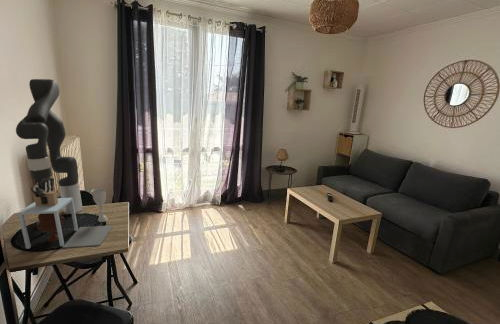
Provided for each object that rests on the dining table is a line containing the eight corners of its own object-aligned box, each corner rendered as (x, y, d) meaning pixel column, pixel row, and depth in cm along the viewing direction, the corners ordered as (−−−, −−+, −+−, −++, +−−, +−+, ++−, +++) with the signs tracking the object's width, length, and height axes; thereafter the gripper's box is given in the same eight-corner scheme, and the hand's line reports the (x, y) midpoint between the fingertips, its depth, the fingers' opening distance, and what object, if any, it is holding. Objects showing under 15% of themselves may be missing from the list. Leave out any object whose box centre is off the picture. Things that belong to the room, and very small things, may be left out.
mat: (80, 228, 133) (80, 227, 133) (113, 226, 136) (113, 225, 136) (62, 248, 116) (62, 247, 116) (100, 245, 119) (100, 244, 118)
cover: (45, 231, 129) (36, 187, 122) (78, 229, 131) (71, 186, 125) (26, 248, 114) (14, 200, 108) (63, 246, 117) (54, 198, 111)
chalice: (92, 221, 140) (87, 191, 135) (102, 216, 146) (98, 187, 141) (102, 223, 138) (98, 193, 133) (112, 218, 144) (109, 188, 139)
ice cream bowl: (53, 246, 117) (47, 217, 113) (33, 243, 119) (27, 214, 115) (73, 234, 127) (68, 207, 123) (54, 231, 129) (49, 204, 125)
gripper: (39, 163, 119) (46, 197, 124) (19, 172, 106) (27, 209, 111) (57, 162, 121) (63, 196, 125) (39, 171, 107) (47, 208, 112)
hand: (46, 202), depth 118 cm, fingers closed on cover, 2 cm apart
